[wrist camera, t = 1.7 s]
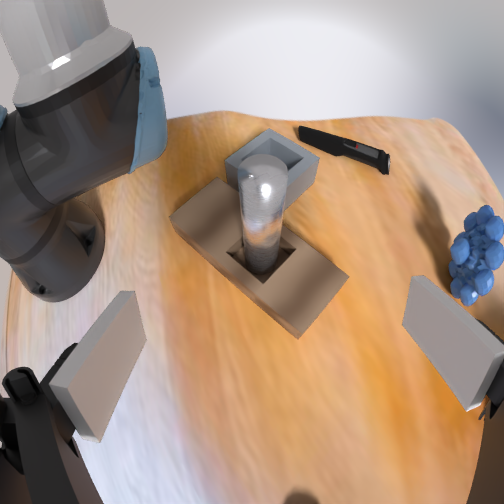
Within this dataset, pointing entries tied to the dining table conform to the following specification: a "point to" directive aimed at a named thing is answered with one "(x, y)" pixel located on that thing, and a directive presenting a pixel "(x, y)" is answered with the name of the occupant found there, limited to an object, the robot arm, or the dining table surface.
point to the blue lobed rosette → (476, 255)
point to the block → (292, 154)
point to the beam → (234, 267)
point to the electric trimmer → (346, 148)
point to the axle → (262, 209)
